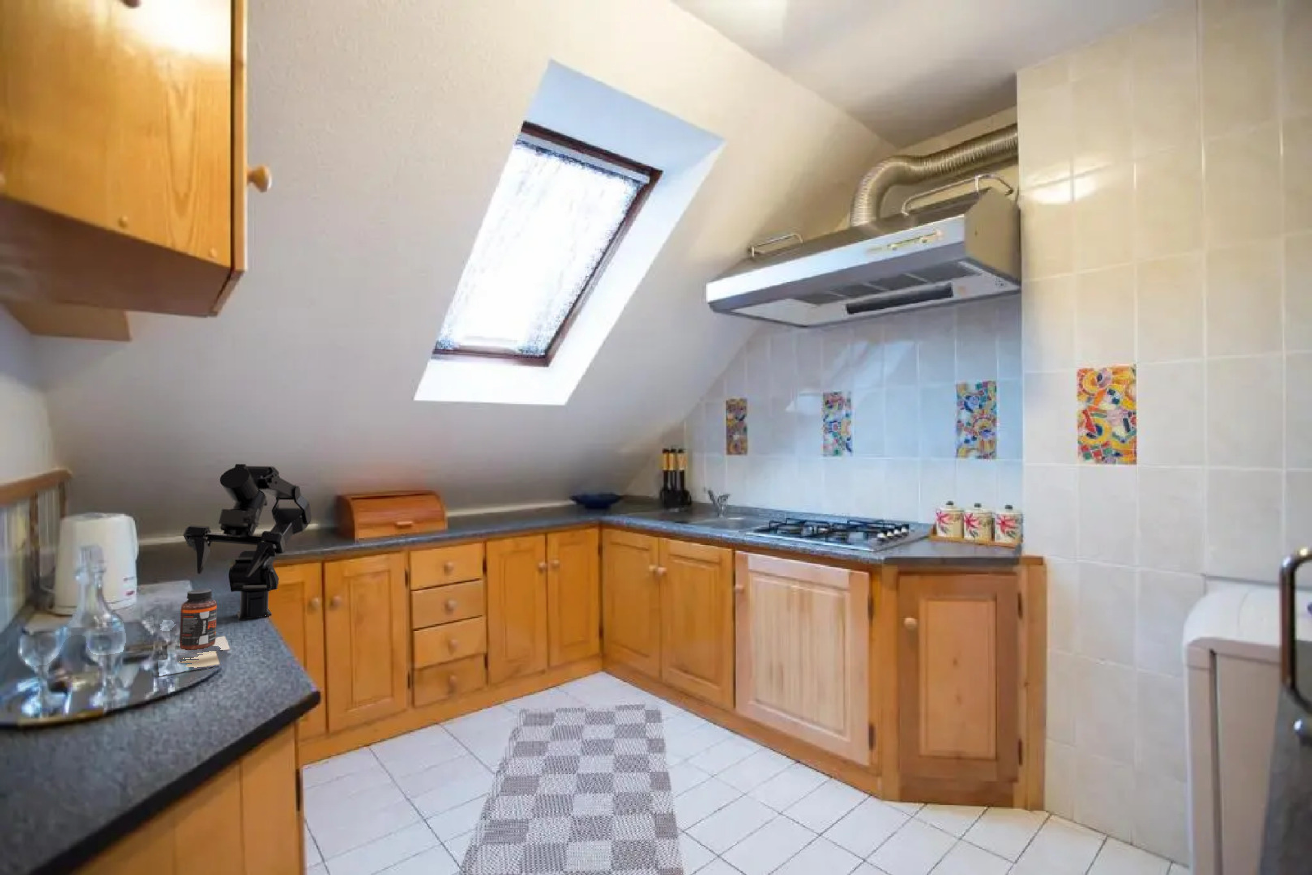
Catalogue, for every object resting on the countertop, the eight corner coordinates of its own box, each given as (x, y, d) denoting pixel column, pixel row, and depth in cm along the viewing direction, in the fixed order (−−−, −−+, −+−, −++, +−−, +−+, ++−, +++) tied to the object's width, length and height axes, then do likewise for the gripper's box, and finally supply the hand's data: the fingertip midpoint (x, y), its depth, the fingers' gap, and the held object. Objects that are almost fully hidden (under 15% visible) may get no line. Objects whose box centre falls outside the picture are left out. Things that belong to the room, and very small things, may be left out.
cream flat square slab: (165, 645, 129) (165, 644, 129) (225, 636, 135) (225, 635, 135) (167, 659, 121) (167, 658, 121) (230, 649, 127) (230, 648, 127)
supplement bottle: (213, 648, 127) (215, 592, 127) (177, 653, 124) (178, 595, 124) (217, 640, 132) (218, 586, 132) (181, 644, 129) (183, 588, 129)
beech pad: (157, 662, 119) (157, 659, 119) (215, 653, 125) (215, 650, 125) (158, 676, 112) (158, 673, 112) (219, 666, 118) (219, 663, 118)
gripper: (191, 489, 137) (162, 553, 127) (287, 498, 142) (266, 560, 133) (202, 515, 145) (176, 577, 136) (292, 522, 151) (273, 583, 141)
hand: (223, 574), depth 136 cm, fingers open, 9 cm apart
